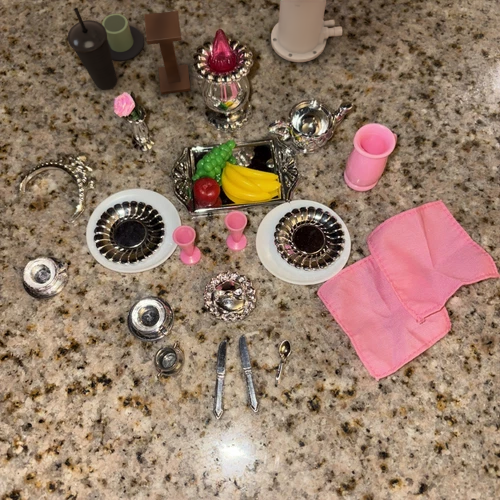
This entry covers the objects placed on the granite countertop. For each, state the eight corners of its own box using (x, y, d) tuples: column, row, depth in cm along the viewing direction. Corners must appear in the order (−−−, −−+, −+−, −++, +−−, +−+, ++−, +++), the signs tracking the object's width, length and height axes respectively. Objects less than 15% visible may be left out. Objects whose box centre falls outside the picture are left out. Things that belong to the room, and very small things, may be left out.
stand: (187, 67, 110) (177, 10, 95) (190, 91, 108) (180, 37, 93) (159, 70, 110) (144, 14, 94) (161, 94, 107) (146, 40, 92)
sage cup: (132, 31, 113) (126, 11, 107) (134, 50, 111) (128, 31, 106) (108, 33, 113) (101, 14, 107) (109, 53, 111) (102, 34, 105)
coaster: (142, 23, 114) (142, 22, 114) (145, 58, 111) (145, 57, 110) (99, 28, 114) (98, 27, 113) (101, 63, 110) (100, 62, 110)
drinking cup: (121, 95, 107) (94, 26, 88) (87, 95, 107) (51, 25, 89) (125, 67, 110) (99, -7, 91) (91, 66, 110) (58, -7, 91)
